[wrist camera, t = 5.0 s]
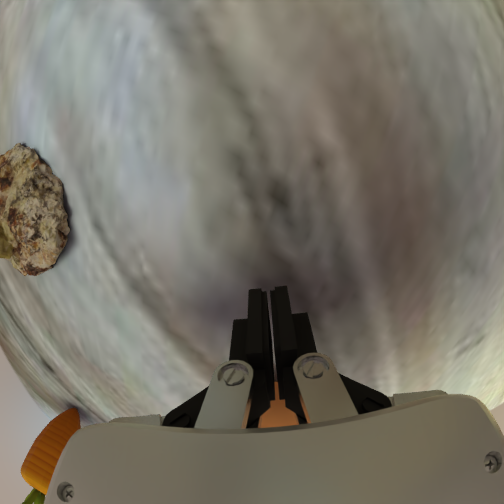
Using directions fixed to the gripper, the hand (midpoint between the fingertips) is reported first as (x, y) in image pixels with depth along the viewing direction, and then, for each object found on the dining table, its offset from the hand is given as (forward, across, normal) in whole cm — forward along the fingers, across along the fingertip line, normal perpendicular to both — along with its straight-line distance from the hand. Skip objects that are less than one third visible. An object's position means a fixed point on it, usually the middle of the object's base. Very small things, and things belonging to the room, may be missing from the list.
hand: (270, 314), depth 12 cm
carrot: (+2, +21, +13) cm, 25 cm away
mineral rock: (+2, +15, -7) cm, 16 cm away
